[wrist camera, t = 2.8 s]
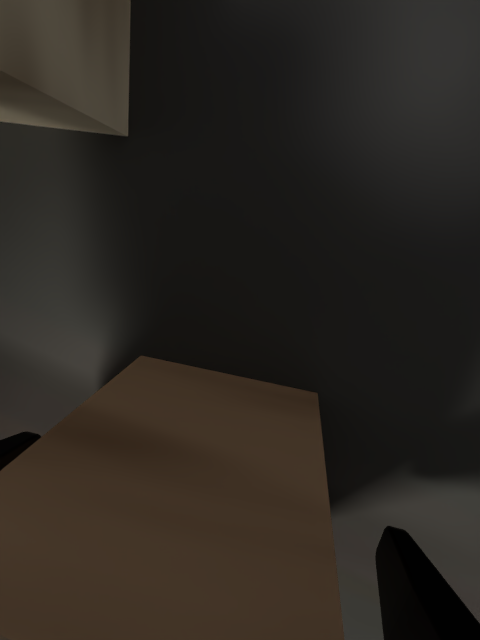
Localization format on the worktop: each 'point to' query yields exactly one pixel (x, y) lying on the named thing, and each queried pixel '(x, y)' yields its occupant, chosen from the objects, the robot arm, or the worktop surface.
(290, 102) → the worktop surface
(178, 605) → the walnut block
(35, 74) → the birch block
